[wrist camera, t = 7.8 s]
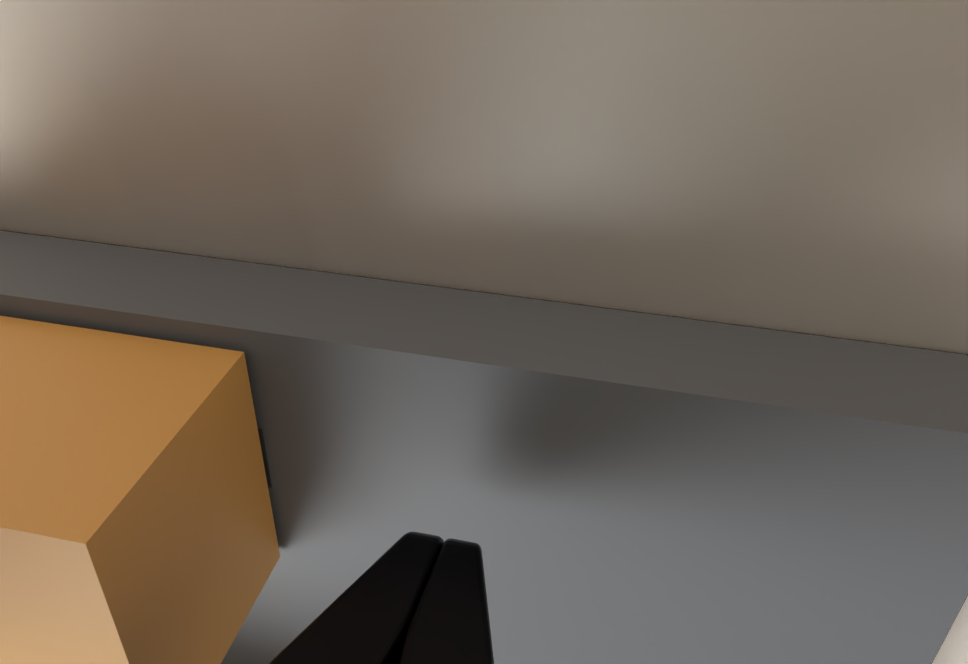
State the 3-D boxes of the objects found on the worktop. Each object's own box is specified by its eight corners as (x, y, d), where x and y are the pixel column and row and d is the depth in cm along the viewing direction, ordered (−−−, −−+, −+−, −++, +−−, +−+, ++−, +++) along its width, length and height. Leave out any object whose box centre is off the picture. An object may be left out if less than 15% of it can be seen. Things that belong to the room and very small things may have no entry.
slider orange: (244, 351, 9) (84, 544, 7) (280, 557, 11) (165, 762, 9) (-119, 297, 10) (-375, 452, 8) (-29, 496, 12) (-211, 669, 10)
